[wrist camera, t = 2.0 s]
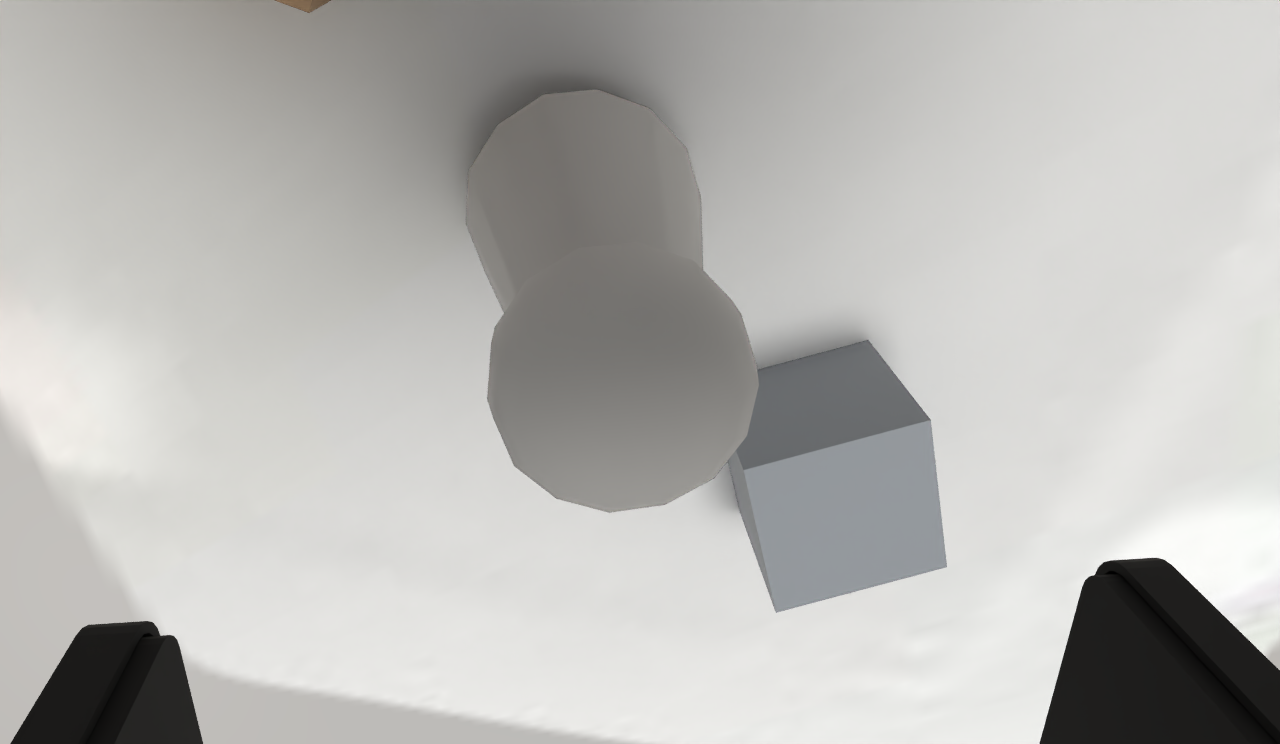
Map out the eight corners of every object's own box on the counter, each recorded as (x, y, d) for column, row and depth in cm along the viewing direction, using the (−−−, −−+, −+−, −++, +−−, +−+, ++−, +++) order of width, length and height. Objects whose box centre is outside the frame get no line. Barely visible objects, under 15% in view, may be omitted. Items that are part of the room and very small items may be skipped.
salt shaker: (486, 294, 27) (463, 596, 15) (452, 86, 24) (391, 260, 13) (690, 270, 27) (819, 547, 16) (679, 63, 25) (822, 212, 13)
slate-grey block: (709, 381, 29) (743, 470, 25) (867, 338, 29) (930, 419, 24) (739, 510, 31) (775, 612, 27) (886, 471, 31) (946, 566, 27)
